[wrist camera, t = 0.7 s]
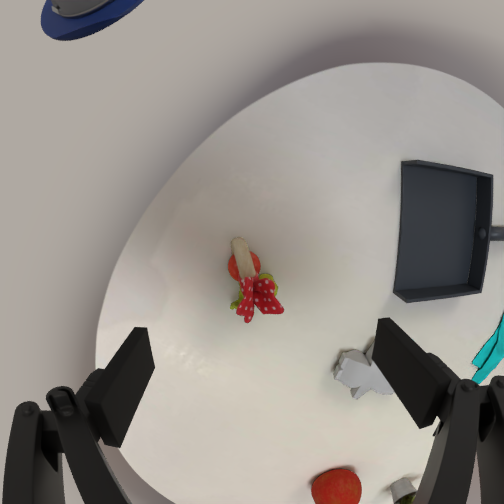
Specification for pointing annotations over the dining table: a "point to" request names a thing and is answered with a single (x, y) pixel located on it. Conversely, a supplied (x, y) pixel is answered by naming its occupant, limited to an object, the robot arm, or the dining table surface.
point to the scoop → (443, 231)
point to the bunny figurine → (361, 374)
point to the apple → (337, 488)
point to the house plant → (403, 492)
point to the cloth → (490, 354)
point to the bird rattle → (251, 283)
